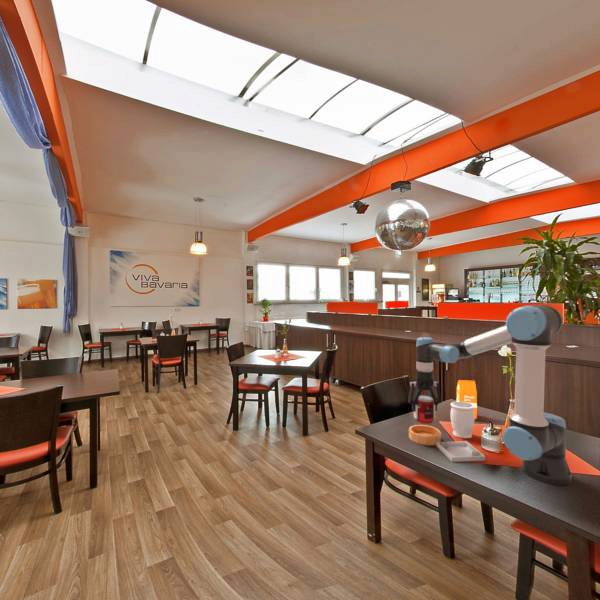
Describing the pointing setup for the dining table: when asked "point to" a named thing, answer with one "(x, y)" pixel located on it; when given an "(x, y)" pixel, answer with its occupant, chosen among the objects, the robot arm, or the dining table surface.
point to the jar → (462, 419)
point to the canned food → (425, 409)
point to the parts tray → (460, 451)
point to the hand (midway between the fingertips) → (424, 417)
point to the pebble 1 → (444, 445)
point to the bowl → (424, 434)
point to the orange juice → (467, 393)
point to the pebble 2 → (475, 453)
